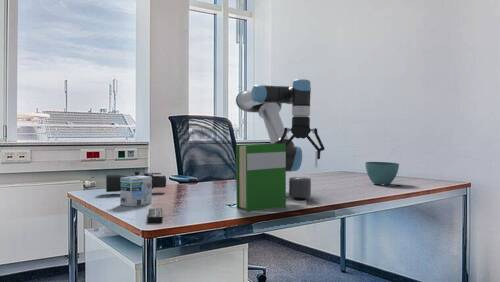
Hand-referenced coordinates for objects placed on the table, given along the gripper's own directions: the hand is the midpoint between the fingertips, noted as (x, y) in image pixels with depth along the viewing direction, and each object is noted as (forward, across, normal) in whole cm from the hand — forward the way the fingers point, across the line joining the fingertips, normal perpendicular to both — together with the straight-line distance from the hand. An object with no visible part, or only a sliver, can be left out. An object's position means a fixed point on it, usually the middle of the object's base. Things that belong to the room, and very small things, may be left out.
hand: (299, 166), depth 172 cm
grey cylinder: (+12, 0, -1) cm, 12 cm away
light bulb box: (+15, -63, -23) cm, 69 cm away
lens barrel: (+14, 0, 0) cm, 14 cm away
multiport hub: (+15, -47, -46) cm, 67 cm away
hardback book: (+14, -14, -21) cm, 29 cm away
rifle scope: (+15, -74, +3) cm, 76 cm away
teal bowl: (+15, +46, +64) cm, 81 cm away
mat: (+14, -3, -6) cm, 16 cm away
